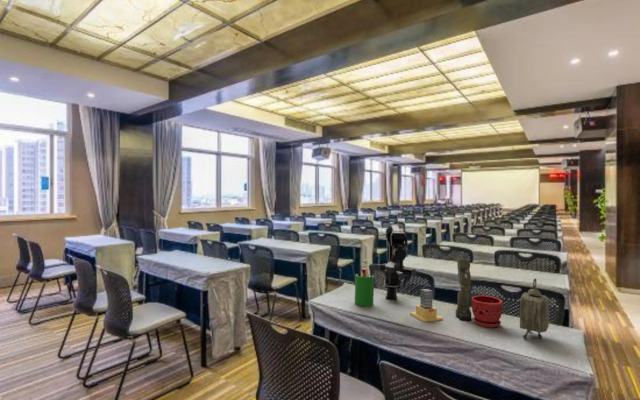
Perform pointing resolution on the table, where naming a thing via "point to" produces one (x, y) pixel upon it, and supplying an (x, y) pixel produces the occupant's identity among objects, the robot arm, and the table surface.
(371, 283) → the green pencil holder
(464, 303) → the mechanical leg
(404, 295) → the table surface
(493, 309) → the plant pot
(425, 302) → the column
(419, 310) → the stand base
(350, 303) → the table surface
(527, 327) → the tabletop clock
